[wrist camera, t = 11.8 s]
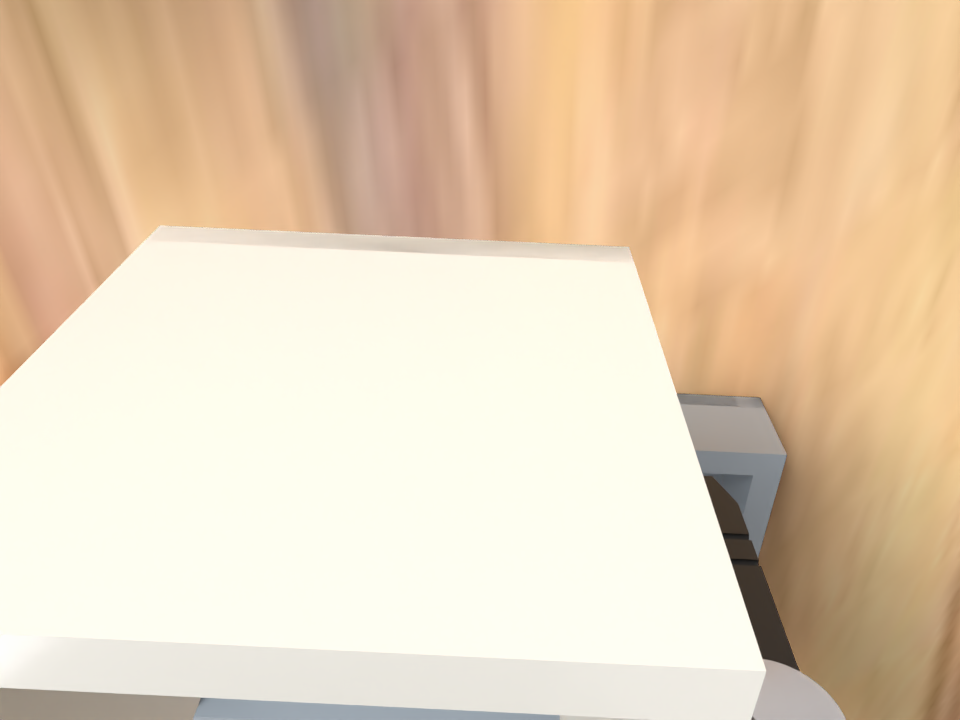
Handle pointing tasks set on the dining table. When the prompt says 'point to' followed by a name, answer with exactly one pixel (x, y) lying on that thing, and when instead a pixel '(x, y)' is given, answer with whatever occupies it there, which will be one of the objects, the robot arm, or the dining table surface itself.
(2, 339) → the dining table surface
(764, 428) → the tray
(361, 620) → the white cube stool
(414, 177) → the dining table surface
